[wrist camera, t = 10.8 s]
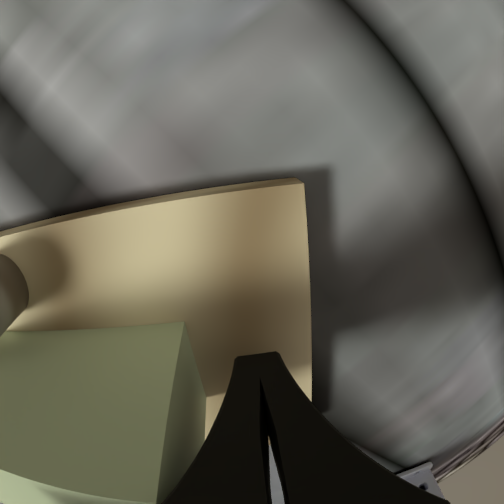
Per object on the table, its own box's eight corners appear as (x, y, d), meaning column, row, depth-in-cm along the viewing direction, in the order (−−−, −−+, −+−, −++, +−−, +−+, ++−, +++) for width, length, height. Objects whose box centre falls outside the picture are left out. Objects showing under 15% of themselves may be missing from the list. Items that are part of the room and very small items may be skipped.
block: (184, 321, 9) (156, 503, 4) (206, 397, 11) (203, 547, 5) (1, 331, 9) (-74, 432, 4) (37, 394, 10) (-11, 496, 5)
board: (294, 177, 9) (332, 202, 6) (305, 418, 13) (321, 479, 10) (-59, 249, 9) (-107, 281, 6) (28, 421, 13) (8, 464, 9)
